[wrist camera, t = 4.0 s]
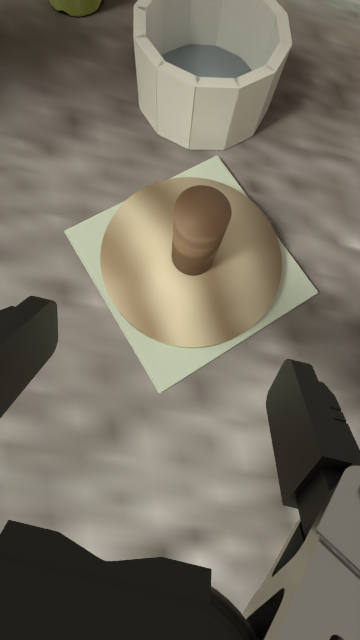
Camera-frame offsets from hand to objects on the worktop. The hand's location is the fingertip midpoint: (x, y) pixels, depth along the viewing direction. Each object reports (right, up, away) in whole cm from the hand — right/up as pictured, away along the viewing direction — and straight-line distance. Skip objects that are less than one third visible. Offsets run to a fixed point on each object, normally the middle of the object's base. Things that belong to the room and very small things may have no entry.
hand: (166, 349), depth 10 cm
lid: (+1, +6, +15) cm, 16 cm away
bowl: (+3, +24, +19) cm, 31 cm away
